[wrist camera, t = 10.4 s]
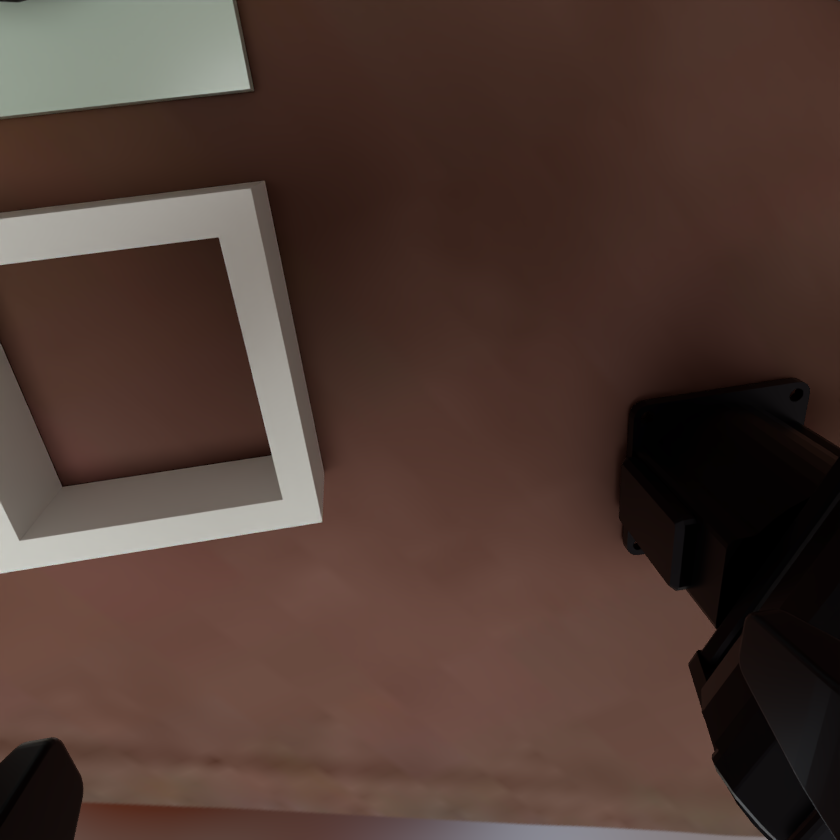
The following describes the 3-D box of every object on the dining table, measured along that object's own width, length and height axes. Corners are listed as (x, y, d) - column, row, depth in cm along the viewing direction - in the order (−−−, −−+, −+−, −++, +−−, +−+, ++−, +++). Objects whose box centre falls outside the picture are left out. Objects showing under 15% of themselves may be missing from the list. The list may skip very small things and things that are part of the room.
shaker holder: (264, 180, 17) (250, 188, 14) (324, 473, 21) (322, 522, 18) (-91, 223, 16) (-177, 240, 14) (42, 516, 20) (-3, 573, 18)
